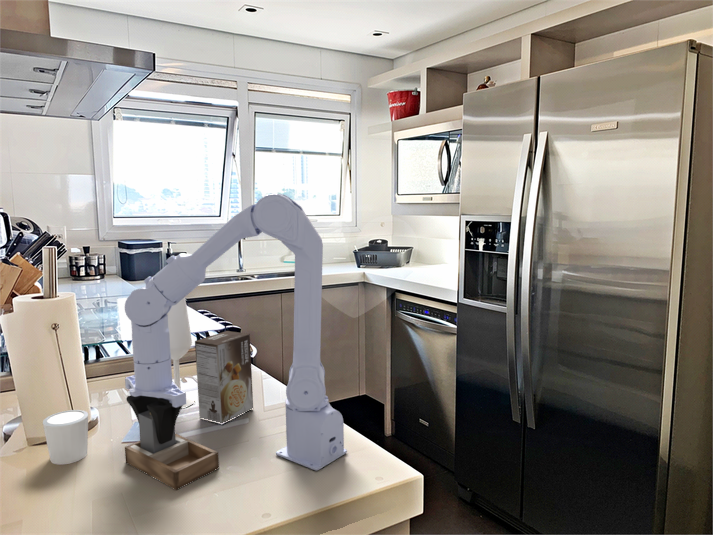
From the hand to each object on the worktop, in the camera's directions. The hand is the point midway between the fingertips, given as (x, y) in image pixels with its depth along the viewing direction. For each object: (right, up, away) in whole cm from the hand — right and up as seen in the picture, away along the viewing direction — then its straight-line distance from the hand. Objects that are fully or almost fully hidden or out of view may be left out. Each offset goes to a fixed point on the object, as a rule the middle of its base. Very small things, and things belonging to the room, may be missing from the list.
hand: (157, 437), depth 92 cm
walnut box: (+3, -4, -2) cm, 5 cm away
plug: (0, -2, 0) cm, 2 cm away
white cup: (-16, -4, +2) cm, 16 cm away
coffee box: (+7, -1, +19) cm, 20 cm away
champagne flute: (-4, -1, +25) cm, 25 cm away
